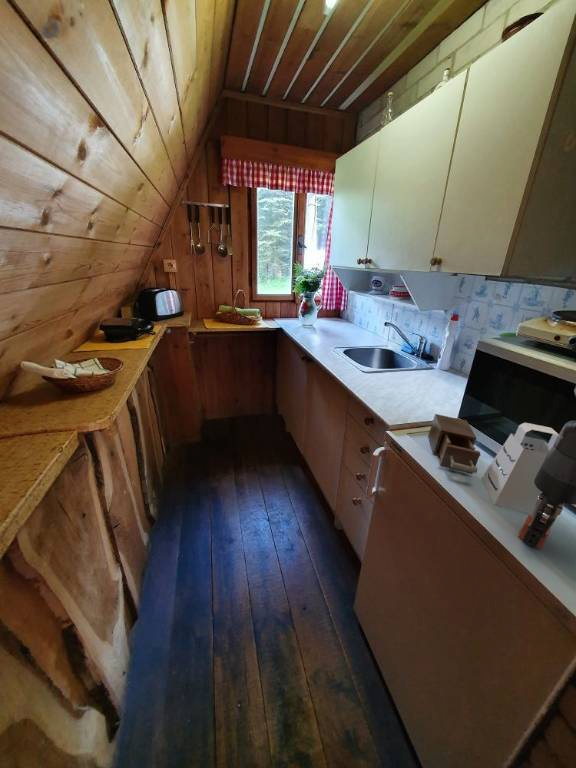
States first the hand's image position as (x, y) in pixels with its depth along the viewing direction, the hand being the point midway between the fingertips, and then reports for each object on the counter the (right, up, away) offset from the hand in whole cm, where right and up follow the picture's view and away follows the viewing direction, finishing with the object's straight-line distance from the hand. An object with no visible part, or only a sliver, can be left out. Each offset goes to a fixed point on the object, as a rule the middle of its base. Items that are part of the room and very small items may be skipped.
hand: (531, 536), depth 66 cm
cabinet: (-2, +12, +32) cm, 34 cm away
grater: (+4, +4, +13) cm, 14 cm away
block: (0, 0, 0) cm, 0 cm away
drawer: (-5, +10, +22) cm, 25 cm away
